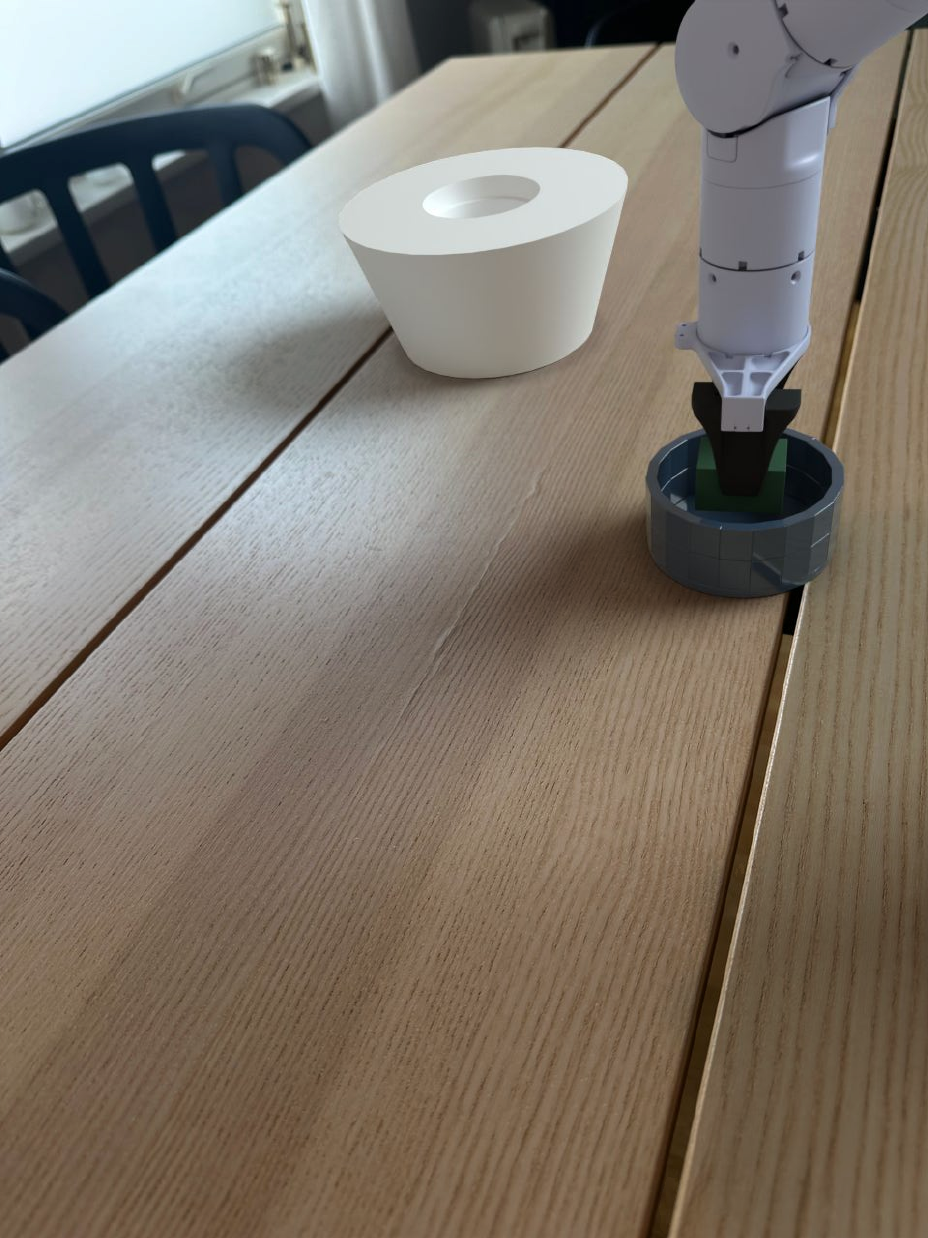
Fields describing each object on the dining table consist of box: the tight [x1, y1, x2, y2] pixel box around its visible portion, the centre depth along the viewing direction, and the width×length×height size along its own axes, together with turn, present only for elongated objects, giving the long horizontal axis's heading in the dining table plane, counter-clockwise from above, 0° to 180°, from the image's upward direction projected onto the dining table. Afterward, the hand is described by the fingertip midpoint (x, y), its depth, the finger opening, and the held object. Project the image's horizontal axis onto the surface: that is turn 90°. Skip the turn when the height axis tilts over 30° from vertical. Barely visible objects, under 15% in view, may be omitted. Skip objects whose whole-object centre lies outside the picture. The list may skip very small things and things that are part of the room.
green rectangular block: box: [695, 437, 787, 514], centre depth 59 cm, size 5×4×3 cm
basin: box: [644, 427, 845, 599], centre depth 60 cm, size 11×11×5 cm
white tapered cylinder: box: [337, 146, 629, 379], centre depth 85 cm, size 24×24×12 cm
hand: (742, 473), depth 59 cm, fingers closed on green rectangular block, 3 cm apart
